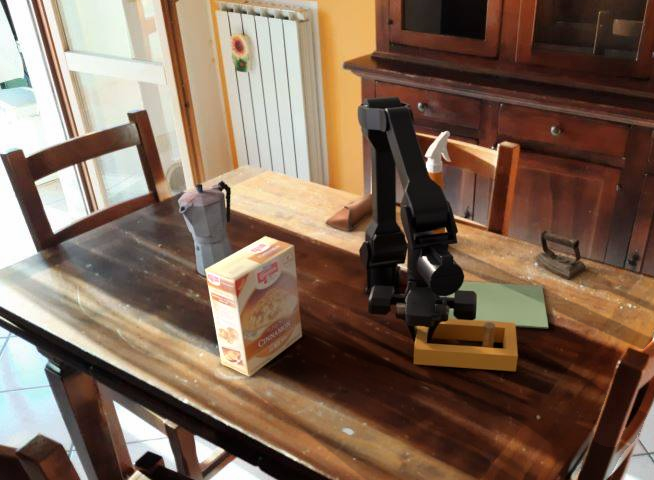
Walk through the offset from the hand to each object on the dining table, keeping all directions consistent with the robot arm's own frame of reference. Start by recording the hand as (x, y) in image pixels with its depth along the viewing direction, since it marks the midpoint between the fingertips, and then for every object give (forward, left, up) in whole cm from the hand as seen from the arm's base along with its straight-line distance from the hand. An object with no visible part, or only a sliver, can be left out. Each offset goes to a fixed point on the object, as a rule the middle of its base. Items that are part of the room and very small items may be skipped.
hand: (421, 341), depth 119 cm
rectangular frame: (+8, 0, -1) cm, 8 cm away
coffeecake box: (-29, -3, -2) cm, 29 cm away
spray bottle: (0, +44, -2) cm, 44 cm away
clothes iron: (+28, +36, -2) cm, 46 cm away
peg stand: (+12, 0, -2) cm, 12 cm away
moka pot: (-48, +27, -2) cm, 55 cm away
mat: (+12, +18, -2) cm, 22 cm away
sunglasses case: (-21, +58, -2) cm, 62 cm away
